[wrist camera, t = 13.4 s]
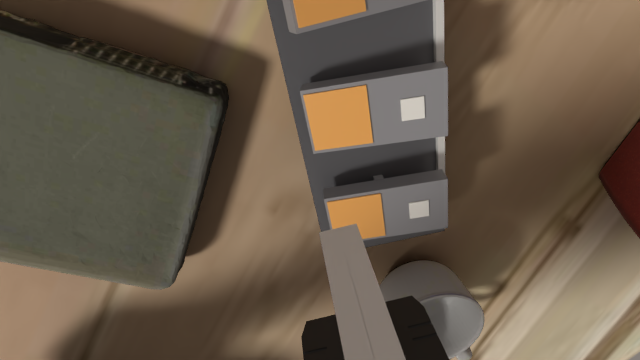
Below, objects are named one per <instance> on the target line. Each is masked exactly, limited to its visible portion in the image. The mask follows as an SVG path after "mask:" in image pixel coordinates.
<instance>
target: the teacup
mask: <svg viewBox="0 0 640 360" xmlns="http://www.w3.org/2000/svg"><path fill="white" fill-rule="evenodd" d="M379 287H380V290H381V292H382V295H383V298H384V301H385V302H386V301H391V300H395V299H399V298H403V297H407V296H413V297H414V298H415V299H416V300H417V301H419V302H420V303H421V304H422V305H423V306H424V307H425V309H426V312H427V314H428V316H429V318H430V320H431V323H432V324H433V326H434V328H435V330H436V333H437V336H438V337H439V339H440V341H441V343H442V345H443V347H444V349H445V351H446V354H447V356H448V358H449V359H451V358H454V357H455V356H456V358H457V359H458V360H469V359H470V358H471V357H472V352H471V349H470V346H471V345H472V344H473V343H474V342H475V340H476V339H477V338H478V337H479V335H480V333H481V331H482V329H483V325H484V313H483V310H482V308H481V306H480V305H479V304H478V302H477V301H475V300H474V298H473V297H472V295H471V294H470V293H469V291H468V290H467V288H466V287H465V286H464V284H463V283H462V282H461V280H460V279H459V278H458V277H457V276H456V274H455V273H454V272H453V271H452V270H450V269H449V268H448V267H446V266H444V265H442V264H440V263H437V262H434V261H427V260H419V261H413V262H409V263H406V264H404V265H401V266H399V267H398V268H396V269H395V270H393V271H392V272H390V273H389V274H388V275H387V276H386V277H385V278H384V280H383V281H382V283H381V284H380V286H379Z"/></svg>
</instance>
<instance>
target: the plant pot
mask: <svg viewBox="0 0 640 360" xmlns="http://www.w3.org/2000/svg"><path fill="white" fill-rule="evenodd" d="M599 178H600V180H601V182H602V184H603V186H604V188H605V190H606V191H607V193H608V195H609V196H610V198H611V199H612V201H613V202H614V204H615V206H616V207H617V209H618V210H619V212H620V213H621V215H622V216H623V217H624V219H625V220H626V221H627V223H628V224H629V226H630V227H631V228H632V229H633V231H634V232H635V233H636V235H637V236H638V237H639V238H640V120H639V122H638V123H637V124H636V126H635V127H634V128H633V130H632V131H631V132H630V133H629V135H628V136H627V137H626V139H625V140H624V141H623V142H622V144H621V145H620V146H619V148H618V149H617V150H616V152H615V153H614V154H613V155H612V157H611V158H610V159H609V161H608V162H607V163H606V165H605V166H604V167H603V168H602V170H601V171H600V174H599Z"/></svg>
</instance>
